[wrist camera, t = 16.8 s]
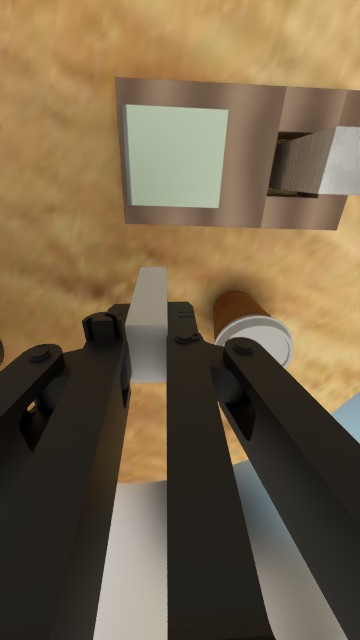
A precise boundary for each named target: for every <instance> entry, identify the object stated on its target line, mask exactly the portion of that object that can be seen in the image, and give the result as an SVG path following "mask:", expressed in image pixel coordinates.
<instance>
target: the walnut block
mask: <svg viewBox="0 0 360 640" xmlns="http://www.w3.org/2000/svg"><path fill="white" fill-rule="evenodd" d="M115 85H116V99H117V114H118V128H119V142H120V156H121V170H122V184H123V198H124V212H125V224H152V225H183V226H215V227H246V228H278V229H309V230H337V227H338V224H339V221H340V218H341V215H342V212H343V209H344V206H345V203H346V200H347V197H348V195H336V194H315V193H307V192H298V195H274V194H267V191H268V186H269V180H270V175H271V169H272V164H273V159H274V153H275V148H276V143H277V139H289V140H294V139H297V138H300V137H303V136H307V135H310V134H313V133H316V132H320V131H323V130H326V129H329V128H333V127H336V126H344V127H360V91H358V90H340V89H322V88H303V87H285V86H267V85H248V84H230V83H212V82H193V81H175V80H157V79H138V78H120V77H115ZM124 104H126V105H145V106H164V107H183V108H202V109H222V110H228V120H227V129H226V139H225V149H224V159H223V169H222V179H221V188H220V198H219V208H201V207H172V206H142V205H128V201H127V185H126V170H125V154H124V139H123V123H122V107H121V105H124Z"/></svg>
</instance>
